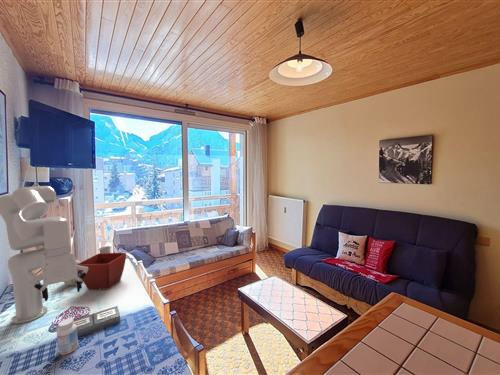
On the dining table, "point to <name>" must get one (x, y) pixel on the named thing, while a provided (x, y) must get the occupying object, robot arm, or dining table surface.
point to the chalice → (104, 249)
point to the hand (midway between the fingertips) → (63, 294)
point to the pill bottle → (67, 336)
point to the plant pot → (103, 270)
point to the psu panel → (97, 321)
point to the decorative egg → (73, 281)
